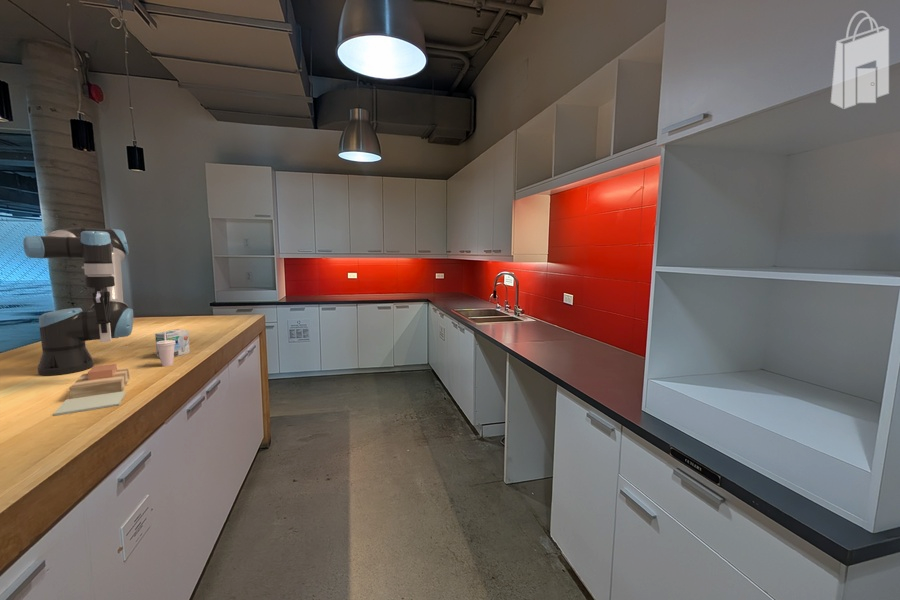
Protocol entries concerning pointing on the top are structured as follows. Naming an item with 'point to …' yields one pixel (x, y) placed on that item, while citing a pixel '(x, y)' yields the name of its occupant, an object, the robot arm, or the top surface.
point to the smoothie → (166, 351)
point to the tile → (102, 371)
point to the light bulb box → (176, 341)
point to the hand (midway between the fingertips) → (106, 341)
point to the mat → (90, 403)
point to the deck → (99, 384)
